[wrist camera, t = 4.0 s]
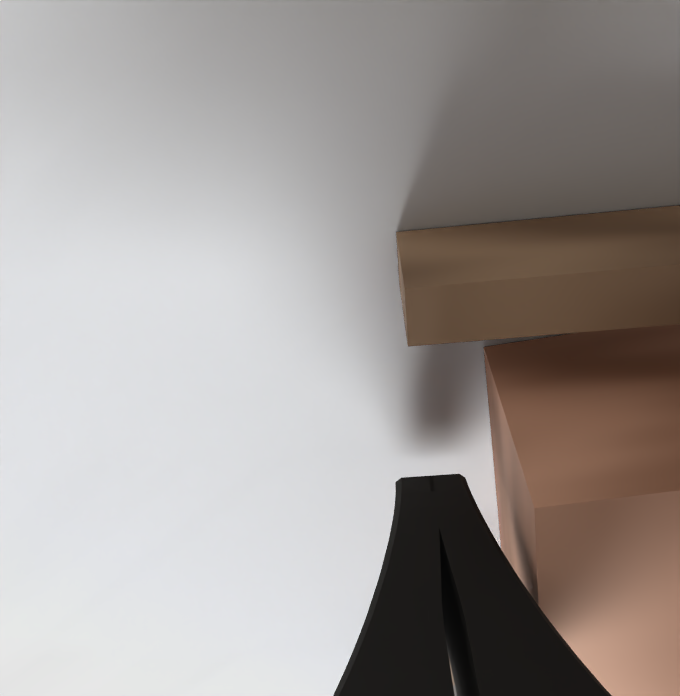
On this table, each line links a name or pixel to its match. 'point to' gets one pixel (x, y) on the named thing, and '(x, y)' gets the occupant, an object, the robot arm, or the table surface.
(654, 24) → the table surface
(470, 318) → the trap box
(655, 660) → the block
